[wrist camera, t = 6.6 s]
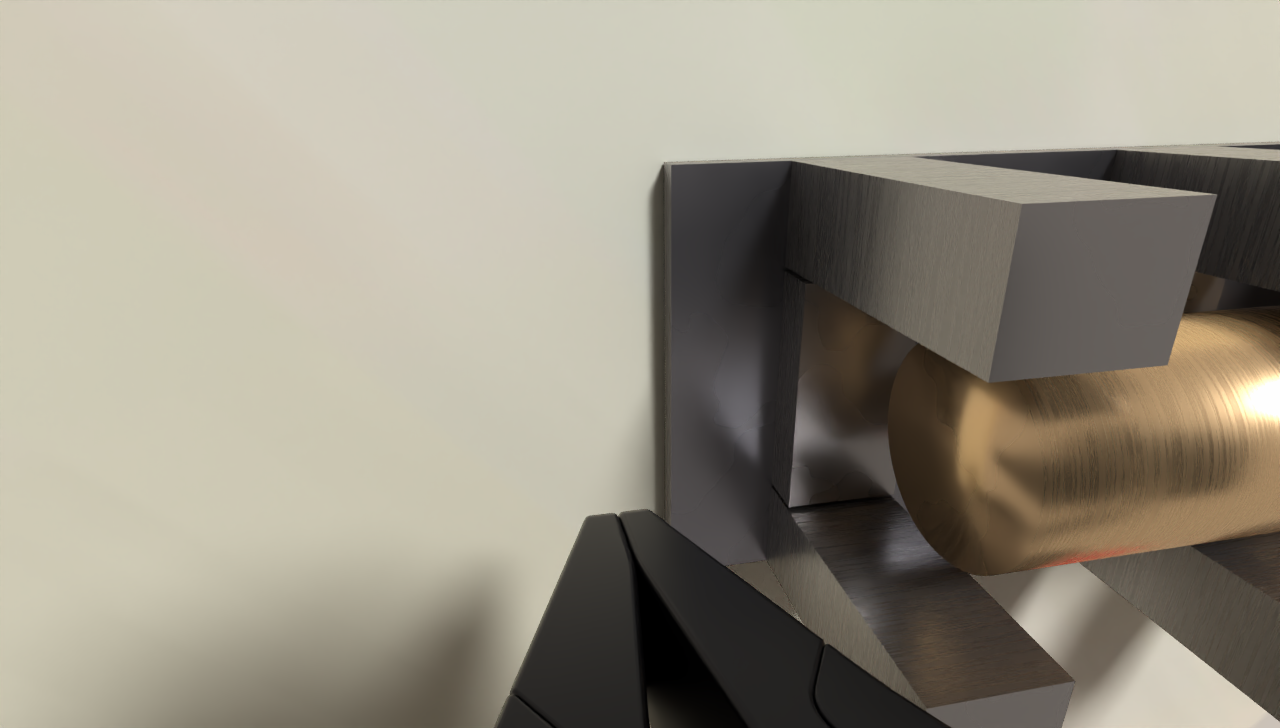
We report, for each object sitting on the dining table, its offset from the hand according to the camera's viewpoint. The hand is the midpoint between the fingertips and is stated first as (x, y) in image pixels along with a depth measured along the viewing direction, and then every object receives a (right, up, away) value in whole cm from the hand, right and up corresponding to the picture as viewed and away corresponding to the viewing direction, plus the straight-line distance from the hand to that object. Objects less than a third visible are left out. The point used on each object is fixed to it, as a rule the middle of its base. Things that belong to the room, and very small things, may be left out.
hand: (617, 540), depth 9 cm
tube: (+12, +2, +5) cm, 13 cm away
